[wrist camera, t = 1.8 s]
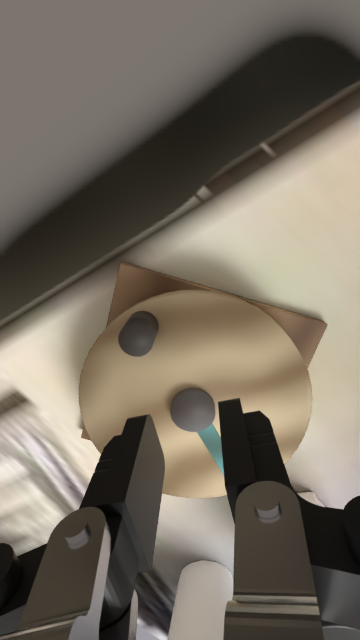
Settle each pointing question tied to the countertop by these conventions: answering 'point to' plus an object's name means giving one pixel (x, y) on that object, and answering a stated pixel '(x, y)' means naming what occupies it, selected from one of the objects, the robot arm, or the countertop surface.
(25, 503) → the countertop surface
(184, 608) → the foam cup
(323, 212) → the countertop surface
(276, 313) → the mount
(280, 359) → the handwheel
